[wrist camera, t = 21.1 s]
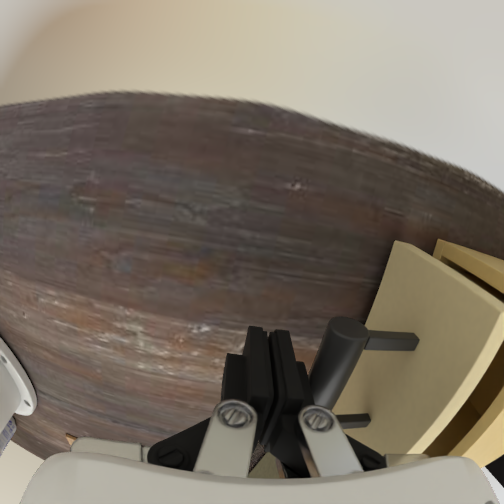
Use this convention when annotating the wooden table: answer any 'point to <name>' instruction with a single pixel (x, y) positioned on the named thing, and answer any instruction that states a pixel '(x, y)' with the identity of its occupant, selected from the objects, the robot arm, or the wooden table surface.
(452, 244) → the cabinet
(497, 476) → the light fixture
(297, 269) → the wooden table surface
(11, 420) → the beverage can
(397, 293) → the drawer
